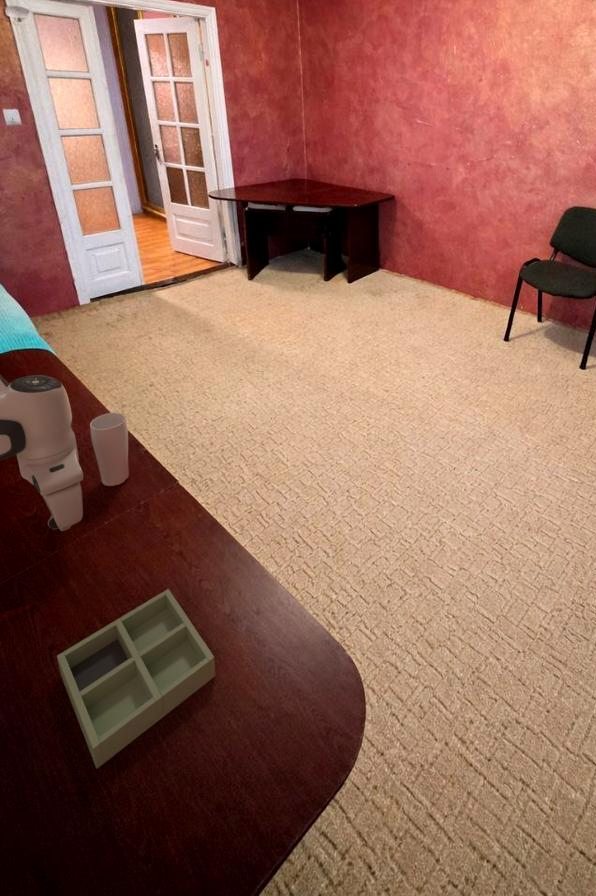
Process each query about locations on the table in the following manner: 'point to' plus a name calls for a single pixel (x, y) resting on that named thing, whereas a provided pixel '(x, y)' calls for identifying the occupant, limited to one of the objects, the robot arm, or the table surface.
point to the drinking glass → (111, 447)
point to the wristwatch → (52, 523)
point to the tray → (134, 673)
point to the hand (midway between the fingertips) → (60, 518)
